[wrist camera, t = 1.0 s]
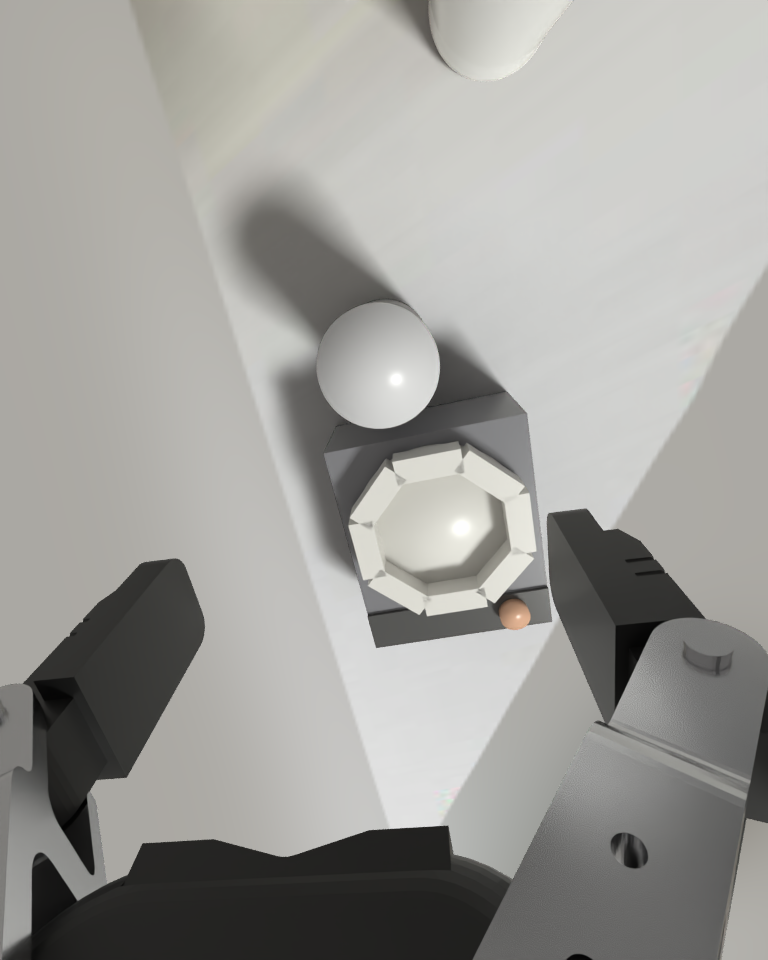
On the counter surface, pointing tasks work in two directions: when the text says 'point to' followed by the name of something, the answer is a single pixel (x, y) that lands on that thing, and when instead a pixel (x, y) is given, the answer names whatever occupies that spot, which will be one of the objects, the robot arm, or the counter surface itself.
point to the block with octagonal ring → (443, 521)
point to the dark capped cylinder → (378, 364)
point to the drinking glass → (491, 33)
